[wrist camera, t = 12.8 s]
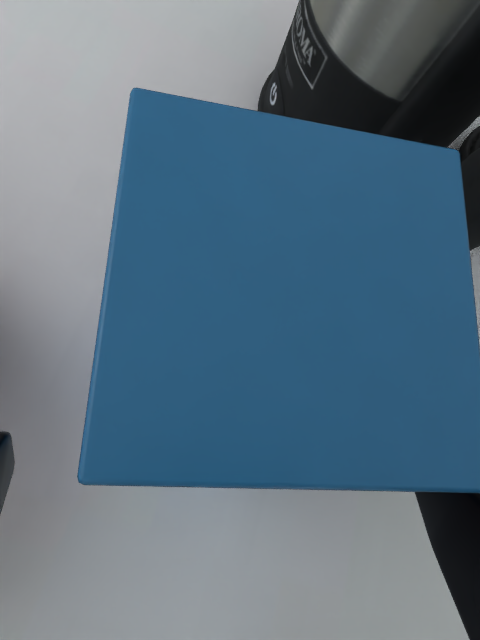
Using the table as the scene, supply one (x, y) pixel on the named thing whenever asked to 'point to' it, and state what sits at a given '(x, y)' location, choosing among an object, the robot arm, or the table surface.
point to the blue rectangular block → (283, 309)
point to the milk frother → (387, 75)
